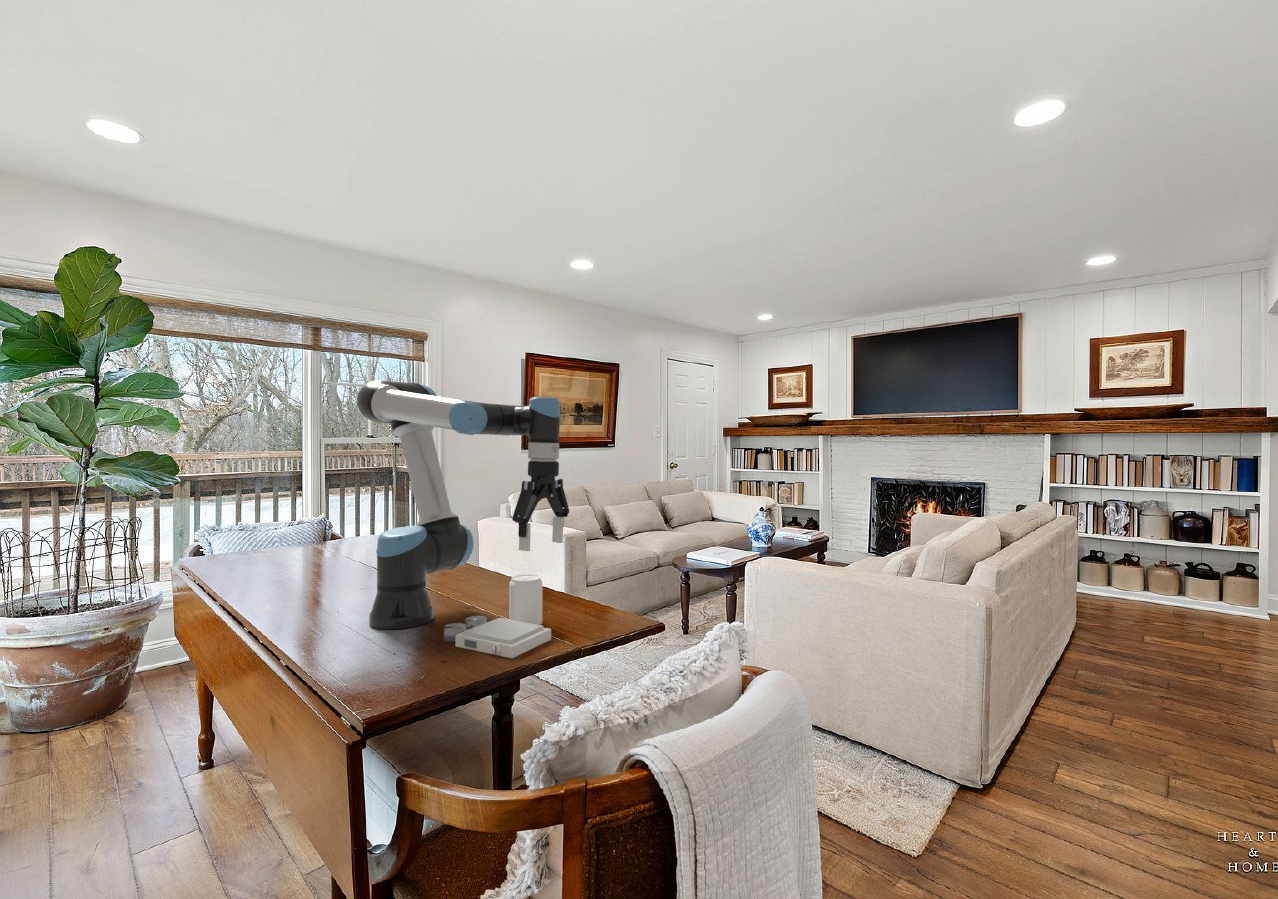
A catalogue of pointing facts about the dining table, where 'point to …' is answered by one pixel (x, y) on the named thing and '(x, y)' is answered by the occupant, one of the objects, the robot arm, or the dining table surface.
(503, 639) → the scale
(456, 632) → the spacer
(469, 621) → the spacer
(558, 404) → the robot arm
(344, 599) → the dining table surface
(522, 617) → the beverage can
